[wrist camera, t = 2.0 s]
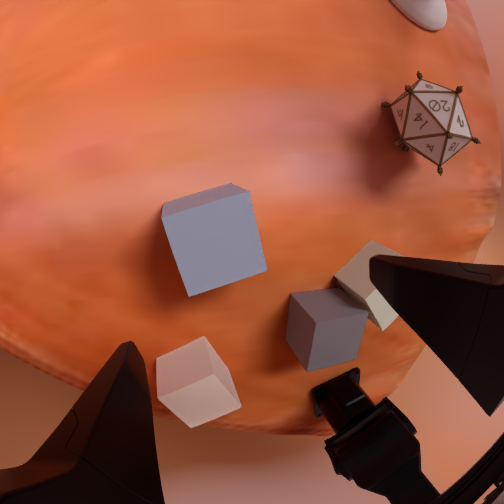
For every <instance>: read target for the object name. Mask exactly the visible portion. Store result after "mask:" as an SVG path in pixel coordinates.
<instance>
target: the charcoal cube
mask: <svg viewBox="0 0 504 504" xmlns="http://www.w3.org/2000/svg"><path fill="white" fill-rule="evenodd" d="M368 313H369V312H368V311H367V310H366V309H365V308H363V307H362V306H361V305H360V304H359V303H357V302H356V301H355V300H354V299H352V298H351V297H350V296H349V295H348V294H346V293H345V292H344V291H343V290H341V289H340V288H339V287H335V288H328V289H321V290H314V291H306V292H298V293H290V303H289V312H288V321H287V330H286V338H285V340H286V341H287V343H288V344H289V346H290V347H291V349H292V350H293V352H294V354H295V355H296V357H297V358H298V360H299V361H300V363H301V364H302V366H303V367H304V369H305V370H306V372H310V371H314V370H318V369H322V368H326V367H329V366H333V365H337V364H340V363H344V362H347V361H351V360H354V359H356V357H357V354H358V350H359V347H360V343H361V340H362V336H363V333H364V329H365V325H366V321H367V317H368Z"/></svg>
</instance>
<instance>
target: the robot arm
mask: <svg viewBox="0 0 504 504" xmlns="http://www.w3.org/2000/svg"><path fill="white" fill-rule="evenodd" d="M369 278H370V281H371V283H372V284H373V285H374V286H375V288H376V289H377V290H378V291H379V292H380V294H381V295H382V296H383V297H384V299H385V300H386V301H387V302H388V304H389V305H390V306H391V307H392V308H393V309H394V311H395V312H396V313H397V314H398V315H399V316H400V317H401V318H402V319H403V320H404V321H405V322H406V323H407V324H408V325H409V326H410V327H411V328H412V329H413V330H414V331H415V332H416V333H417V335H418V336H419V337H420V338H421V339H422V340H423V341H424V342H425V343H426V344H427V345H428V346H429V347H430V348H431V349H432V351H433V352H434V353H435V354H436V355H437V356H438V357H439V358H440V359H441V361H442V362H443V363H444V364H445V365H446V366H447V367H448V368H449V370H450V371H451V372H452V373H453V374H454V375H455V376H456V377H457V378H458V379H459V381H460V382H461V384H462V385H463V386H464V387H465V388H466V389H467V390H468V392H469V393H470V394H471V395H472V397H473V398H474V399H475V400H476V401H477V403H478V404H479V405H480V406H481V407H482V409H483V410H484V411H485V412H486V414H487V415H488V416H491V415H492V414H493V413H494V412H495V410H496V409H497V408H498V407H499V406H500V404H501V403H502V402H503V401H504V266H503V265H485V264H484V265H483V264H471V263H461V262H451V261H442V260H432V259H422V258H412V257H402V256H392V255H382V254H378V255H375V256H373V257H371V258H370V259H369ZM359 381H360V369H359V368H358V367H356V368H354V369H352V370H350V371H348V372H346V373H344V374H342V375H340V376H338V377H336V378H334V379H332V380H330V381H328V382H326V383H324V384H322V385H320V386H317V387H315V388H314V389H313V390H312V396H313V404H314V412H315V416H316V417H321V416H323V415H324V416H325V418H326V419H327V421H328V422H329V424H330V425H331V427H332V429H333V430H334V432H335V433H336V435H334V436H332V437H331V438H329V439H327V440H325V444H326V446H325V450H326V451H327V453H328V455H329V457H330V459H331V461H332V464H333V467H334V470H335V472H336V474H337V475H343V476H344V477H345V478H346V479H347V480H349V481H351V480H352V479H353V480H354V481H355V483H356V484H357V486H359V487H360V488H363V489H366V490H368V491H371V492H374V493H377V494H380V495H383V496H385V497H387V499H388V500H389V501H390V503H391V504H473V503H474V502H475V501H476V500H478V499H479V498H480V496H482V495H483V494H484V493H485V492H486V490H487V489H488V488H489V487H490V486H491V485H492V484H494V485H495V486H496V487H497V488H496V489H495V490H493V491H492V492H491V493H490V494H489V495H487V496H486V497H485V498H484V502H483V503H482V504H504V432H503V434H502V435H501V436H500V437H499V438H498V439H497V441H496V442H495V443H494V444H493V445H492V446H491V448H490V449H489V450H488V451H487V452H486V453H485V454H484V455H483V456H482V457H481V458H480V459H479V460H478V461H477V462H476V463H475V464H474V465H473V466H472V467H471V468H470V469H469V470H468V471H467V472H466V473H465V474H464V475H463V476H462V477H461V478H460V479H459V480H458V481H456V482H455V483H454V484H453V485H452V486H451V487H450V488H448V489H447V490H446V491H445V492H444V493H442V494H441V495H440V493H439V492H438V491H437V490H436V489H435V487H434V486H433V485H432V484H431V482H430V481H429V480H428V479H427V478H426V476H425V475H424V474H423V473H422V471H421V456H420V455H421V454H420V443H419V441H418V440H417V439H416V438H415V436H414V434H416V433H417V431H416V429H415V427H414V426H413V424H412V423H411V422H410V420H409V419H408V418H407V417H406V416H405V415H404V414H403V413H402V412H401V411H400V410H399V409H398V408H397V407H396V406H395V405H394V404H393V403H392V402H391V401H390V400H389V399H388V398H387V397H385V398H383V399H382V401H381V402H380V403H378V404H377V405H375V404H374V402H373V401H372V400H371V399H370V398H369V396H368V395H367V394H366V393H365V392H364V390H363V389H362V388H361V387H360V386H359ZM72 408H73V409H70V411H69V412H68V414H67V415H66V416H65V418H64V419H63V420H62V422H61V423H60V425H59V426H58V427H57V428H56V429H55V430H54V432H53V433H52V434H51V435H50V436H49V438H48V439H47V440H46V441H45V442H44V444H43V445H42V446H41V447H40V448H39V449H38V451H37V452H36V453H35V454H34V456H33V457H32V458H31V459H30V460H29V461H27V462H26V463H25V464H23V465H21V466H18V467H14V468H8V469H0V504H165V502H164V497H163V492H162V486H161V480H160V474H159V467H158V460H157V453H156V445H155V436H154V427H153V426H154V425H153V414H152V402H151V396H150V390H149V385H148V379H147V373H146V367H145V362H144V359H143V357H142V356H141V354H140V352H139V351H138V349H137V347H136V345H135V344H134V342H132V341H128V342H125V343H122V344H121V345H120V346H119V347H118V348H117V350H116V351H115V352H114V353H113V355H112V356H111V357H110V358H109V360H108V361H107V362H106V364H105V365H104V366H103V367H102V369H101V370H100V371H99V373H98V374H97V375H96V376H95V378H94V379H93V380H92V382H91V383H90V384H89V386H88V387H87V388H86V389H85V391H84V392H83V393H82V395H81V396H80V398H79V399H78V400H77V402H76V403H75V404H74V406H73V407H72Z"/></svg>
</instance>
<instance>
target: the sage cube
mask: <svg viewBox="0 0 504 504" xmlns="http://www.w3.org/2000/svg"><path fill="white" fill-rule="evenodd" d="M378 254H382V255H392V256H402V257H405V256H403V255H401V254H399V253H397V252H395V251H393V250H391V249H389V248H387V247H385V246H383V245H381V244H379V243H377V242H375V241H373V240H370V241H369V242H368V243H367V244H366V245H365V246H364V247H363V248H362V249H361V250H360V251H359V252H358V253H357V254H356V255H355V256H354V257H353V258H352V259H351V260H350V261H348V262H347V263H346V264H345V265H344V266H343V267H342V268H341V269H340V270H339V271H338V272H337V273H336V274H335V275H334V276H335V278H336V279H337V281H338V282H339V284H340V285H341V287H342V288H343V290H344V291H345V293H346V294H348V295H349V296H350V297H351V298H352V299H354V300H355V301H356V302H357V303H359V304H360V305H361V306H362V307H363V308H365V309H366V310H367V311H368V312H369V313H368V317H367V318H368V319H370V320H371V321H372V322H373V323H374V324H375V325H377V326H378V327H379V328H380V329H381V330H382V331H384V330H385V329H386V328H387V327H388V326H389V325H390V324H391V323H392V322H393V321H394V320H395V319H396V318H397V317H398V316H399V315H398V314H397V313H396V312H395V311H394V309H393V308H392V307H391V306H390V305H389V304H388V302H387V301H386V300H385V299H384V297H383V296H382V295H381V294H380V292H379V291H378V290H377V289H376V288H375V286H374V285H373V284H372V283H371V281H370V278H369V259H370V258H371V257H373V256H375V255H378Z"/></svg>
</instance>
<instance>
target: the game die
mask: <svg viewBox="0 0 504 504" xmlns="http://www.w3.org/2000/svg"><path fill="white" fill-rule="evenodd" d="M417 77H418V78H419V80H418V81H417V82H416V83H414V84H413V85H412V86H411V87H410V85H409V86H408V85H405V90H406V91H405V92H404V93H403V94H402V95H401V96H400V97H399V98H398V99H396V100H395V101H394V102H393V103H392V104H391V105H390V104H389V103H386V102H385V103H381V104H382V105H383V106H384V108H385V107H386V108H390V109H391V112H392V115H393V117H394V120H395V123H396V126H397V129H398V132H399V135H400V139H397V140H396V142H395V145H398V146H399V145H400V144H402V142H403V143H404V144H405V146H404V147H403V151H408V150H409V148H411V149H412V150H414V151H415V152H417V153H419V154H420V155H422V156H423V157H425V158H427V159H428V160H430V161H431V162H433V163H434V164H436V165H437V166H438V173H439V174H440V176H441V175H442V172H443V171H442V167H441V165H443V164H444V163H445V162H446V161H448V160H449V159H450V158H451V157H452V156H454V155H455V154H456V153H457V152H458V151H460V150H461V149H462V148H463V147H464V146H465V145H467V144H468V143H469V142H470V141H473V142H474V143H476V144H478V143H480V141H479V140H478V138H476V137H475V138H474V137H472V134H471V130H470V127H469V124H468V121H467V118H466V115H465V112H464V109H463V106H462V103H461V100H460V98H459V95H458V94H459V93H461V92H462V87H463V86H459V87H458V86H457V88H456V91H453V90H451V89H448V88H445V87H443V86H440V85H437V84H435V83H432V82H429V81H426V80H423V79H422V77H423V76H422V74H421V73H420V72H419V71H418V72H417Z"/></svg>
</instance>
